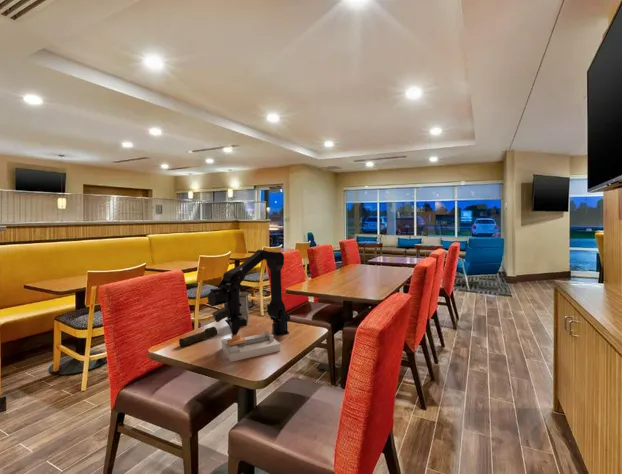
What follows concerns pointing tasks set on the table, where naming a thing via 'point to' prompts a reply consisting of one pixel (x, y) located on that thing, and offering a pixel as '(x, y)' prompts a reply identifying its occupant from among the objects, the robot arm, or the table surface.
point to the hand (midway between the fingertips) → (234, 337)
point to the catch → (236, 340)
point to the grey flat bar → (254, 341)
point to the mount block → (250, 348)
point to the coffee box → (244, 305)
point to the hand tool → (198, 336)
